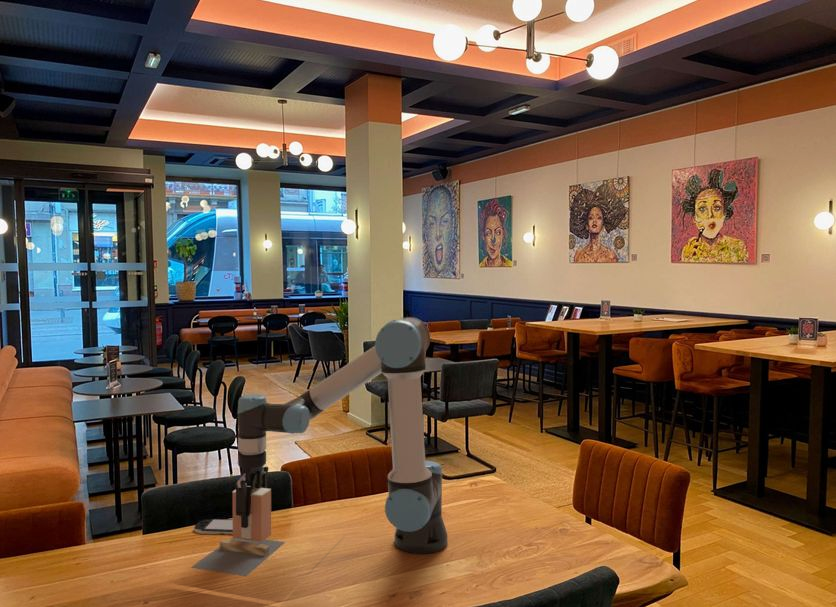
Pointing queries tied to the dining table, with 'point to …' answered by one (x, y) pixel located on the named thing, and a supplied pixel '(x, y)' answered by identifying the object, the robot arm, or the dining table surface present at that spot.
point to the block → (255, 515)
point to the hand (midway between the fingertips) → (252, 533)
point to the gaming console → (214, 526)
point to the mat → (236, 559)
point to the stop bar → (244, 547)
